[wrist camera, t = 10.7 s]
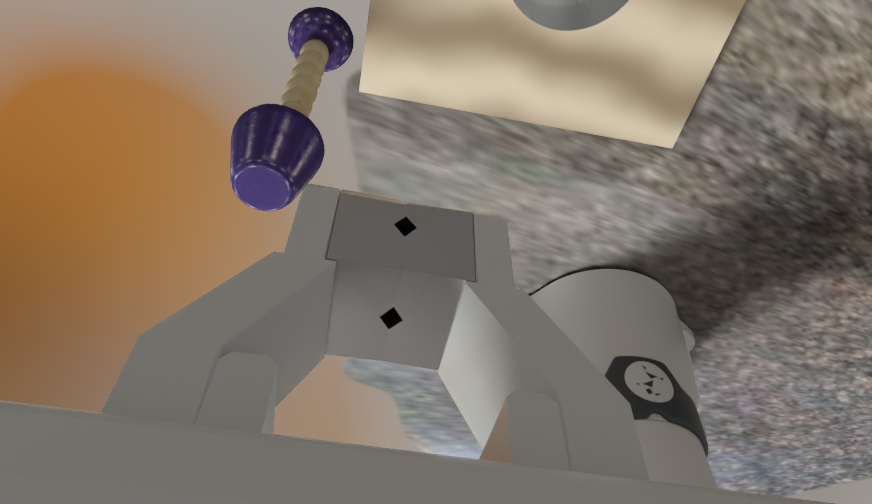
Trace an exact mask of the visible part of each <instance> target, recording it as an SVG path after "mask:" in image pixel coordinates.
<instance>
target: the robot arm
mask: <svg viewBox="0 0 872 504" xmlns="http://www.w3.org/2000/svg"><path fill="white" fill-rule="evenodd" d="M694 346H695V339H694V335H693V332H692V331H691V329H690V328H689V327H688V326H687V325H685V324H684V323H683V322H682V321H681V320H680V319H679V317H678V314H677V310H676V306H675V303H674V300H673V298H672V297H671V295H670V294H669V292H668V291H667V290H666V289H665V288H664V287H663V286H662V285H661V284H659V283H658V282H657V281H655V280H653V279H651V278H649V277H647V276H645V275H642V274H639V273H636V272H632V271H627V270H620V269H596V270H588V271H583V272H579V273H575V274H572V275H569V276H566V277H563V278H561V279H559V280H556V281H554V282H552V283H551V284H549V285H547V286H546V287H544V288H542V289H541V290H539V291H538V292H536V293H535V294H533V295H531V296H529V295H528V294H527V293H526V292H525V291H524V290H520V289H515V287H514V279H513V270H512V262H511V254H510V245H509V237H508V228H507V220H506V219H505V217H504V216H501V215H493V214H486V213H479V212H465V211H459V210H453V209H446V208H440V207H434V206H427V205H421V204H415V203H408V202H406V201H401V200H396V199H391V198H385V197H380V196H375V195H369V194H364V193H359V192H354V191H348V190H343V189H342V191H340V190H339V189H337V188H331V187H325V186H320V185H314V184H308V183H307V184H306V186H305V187H304V188H303V192H302V194H301V198H300V201H299V204H298V208H297V211H296V214H295V218H294V221H293V224H292V228H291V231H290V235H289V238H288V241H287V245H286V248H285V251H284V253H281V252H272V253H270V254H269V255H268V256H266V257H264V258H262V259H261V260H259V261H258V262H256V263H255V264H253V265H251V266H250V267H248V268H247V269H245V270H243V271H242V272H240V273H238V274H237V275H236V276H234V277H232V278H230V279H229V280H227V281H226V282H224V283H222V284H221V285H220V286H218V287H216V288H214V289H213V290H211V291H210V292H208V293H206V294H205V295H203V296H202V297H200V298H199V299H197V300H195V301H194V302H192V303H190V304H189V305H187V306H186V307H184V308H182V309H181V310H179V311H178V312H176V313H174V314H173V315H171V316H169V317H168V318H166V319H165V320H163V321H162V322H160V323H158V324H157V325H155V326H153V327H152V328H150V329H149V330H147V331H146V332H144V333H142V334H141V335H139V337H138V339H137V341H136V343H135V345H134V347H133V349H132V351H131V353H130V355H129V357H128V359H127V361H126V363H125V365H124V368H123V369H122V372H121V374H120V376H119V378H118V380H117V382H116V384H115V386H114V388H113V390H112V392H111V394H110V396H109V398H108V400H107V402H106V404H105V406H104V408H103V410H102V412H101V413H97V412H89V411H81V410H72V409H65V408H56V407H48V406H40V405H33V404H25V403H17V402H8V401H0V504H834V503H826V502H818V501H809V500H802V499H793V498H786V497H777V496H769V495H761V494H753V493H745V492H737V491H729V490H721V489H718V488H717V485H716V482H715V480H714V477H713V475H712V472H711V469H710V466H709V464H708V461H707V455H708V443H707V440H706V437H705V436H706V434H705V433H706V432H705V430H704V429H705V428H704V425H703V422H702V419H701V418H700V417H699V414H698V412H697V408H698V407H699V406H700V395H699V390H698V386H697V382H696V378H695V374H694V369H693V365H692V362H691V358H690V354H689V352H690V351H691V350H692V349H693V347H694ZM324 354H327V355H336V356H345V357H354V358H363V359H372V360H380V361H387V362H393V363H399V364H405V365H411V366H417V367H423V368H429V369H435V370H438V374H439V376H440V377H441V379H442V381H443V383H444V384H445V386H446V388H447V389H448V391H449V393H450V395H451V396H452V398H453V400H454V402H455V403H456V405H457V407H458V408H459V410H460V412H461V414H462V415H463V417H464V419H465V420H466V422H467V424H468V426H469V427H470V429H471V431H472V432H473V434H474V436H475V438H476V439H477V441H478V443H479V444H480V446H481V448H482V450H483V452H482V454H481V456H480V458H479V459H470V458H462V457H454V456H446V455H438V454H430V453H422V452H413V451H405V450H397V449H389V448H381V447H373V446H364V445H356V444H349V443H340V442H332V441H324V440H316V439H308V438H300V437H292V436H284V435H276V434H273V433H274V417H275V407H276V406H277V405H278V404H279V403H280V402H281V401H282V400H283V399H284V398H285V397H286V396H287V395H288V394H289V393H290V392H291V391H292V390H293V388H294V387H296V386H297V385H298V383H300V381H301V380H302V379H303V378H304V377H305V376H306V375H307V374H308V373H309V372H310V371H311V370H312V369H313V368H314V367H315V366H316V365H317V364H318V363H319V362H320V361H321V360H322V359H323V358H324Z"/></svg>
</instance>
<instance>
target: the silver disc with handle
mask: <svg viewBox="0 0 872 504" xmlns="http://www.w3.org/2000/svg"><path fill="white" fill-rule="evenodd" d="M513 1H514V3H515V4H516V6H517V7H518V8H519V9H520V10H521V12H522V13H523V14H524V15H526V16H527V17H528V18H529V19H530V20H532V21H534V22H535V23H537V24H539V25H541V26H544V27H546V28H550V29H554V30H561V31H573V30H581V29H585V28H589V27H591V26H594V25H597V24H599V23H601V22H603V21H605V20H606V19H608V18H609V17H611V16H612V15H614V14H615V13H616V12H618V11H619V10H620V9H621V8H622V7H623V6H624V5H625V4H626V3H627V2H628V1H629V0H513Z"/></svg>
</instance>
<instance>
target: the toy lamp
mask: <svg viewBox="0 0 872 504" xmlns="http://www.w3.org/2000/svg"><path fill="white" fill-rule="evenodd" d="M288 40H289V46H290V49H291V51H292V53H293V55H294V57H295V58H296V59H297V60H296V63H295V67H294V68H293V70H292V72H291V74H290V80H289V81H288V83H287V85H286V88H285V93H284V94H283V96H282V97H281V100H280V104H279V105H278V104H263V105H259V106H256V107H253V108H251V109H249V110H248V111H246V112H245V113H244V114H242V116H240V117H239V119H238V120H237V122H236V124H235V126H234V128H233V132H232V136H231V162H230V164H231V165H230V166H231V167H230V174H231V184H232V188H233V190H234V192H235V194H236V195H237V196H238V198H239V199H240V200H241V201H242V202H243V203H245V204H246V205H248V206H250V207H252V208H254V209H257V210H262V211H274V210H279V209H281V208H283V207H285V206H287V205H288V204H289V203H291V202H292V200H293V199H295V197H296V196H297V195H298V194H299V193H300V191H301V190H302V189H303V188H304V187H305V186H306V184H307V183H308V182H309V181H310V180H311V179H312V178H313V176H314V175H315V174H316V173H317V171H318V170H319V168H320V166H321V164H322V161H323V157H324V143H323V140H322V137H321V135H320V132H319V130H318V129H317V128H316V126H315V125H314V124H313V122H312V121H311V120H310V119H309V118H308V116H309V114H310V112H311V110H312V103H313V102H314V101H315V98H316V95H317V89H318V88H319V86H320V83H321V77H322V75H323V73H324V72H328V71H332V70H335V69H337V68H338V67H340V66H341V65H343V64H344V63H345V62H346V60H347V59H348V58H349V56H350V54H351V52H352V49H353V35H352V31H351V29H350V27H349V25H348V24H347V22H346V21H345V20H344V19H343V18H342V17H341V16H340V15H339V14H337V13H336V12H334V11H332V10H330V9H327V8H322V7H314V8H308V9H305V10H303V11H301V12H299V13H298V14H297V15H296V16H295V17H294V18H293V20H292V22H291V23H290V27H289V32H288Z"/></svg>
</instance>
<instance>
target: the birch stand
mask: <svg viewBox="0 0 872 504" xmlns="http://www.w3.org/2000/svg"><path fill="white" fill-rule="evenodd" d="M745 1H746V0H629V1H628V2H627V3H626V4H625V5H624V6H623V7H622V8H621V9H620V10H619V11H618V12H616V13H615V14H614V15H612V16H611V17H609V18H608V19H606V20H605V21H603V22H601V23H599V24H597V25H594V26H591V27H589V28H585V29H581V30H573V31H561V30H554V29H550V28H546V27H544V26H541V25H539V24H537V23H535V22H534V21H532V20H530V19H529V18H528V17H527V16H526V15H524V14H523V13H522V12H521V10H520V9H519V8H518V7H517V6H516V4H515V3H514V1H513V0H370V8H369V16H368V24H367V32H366V40H365V48H364V56H363V64H362V72H361V80H360V88H359V92H364V93H369V94H375V95H380V96H386V97H391V98H397V99H402V100H408V101H413V102H419V103H424V104H430V105H435V106H441V107H446V108H452V109H458V110H463V111H469V112H474V113H480V114H485V115H491V116H496V117H502V118H507V119H513V120H518V121H524V122H529V123H535V124H540V125H546V126H551V127H557V128H562V129H568V130H573V131H579V132H584V133H590V134H595V135H601V136H606V137H612V138H618V139H623V140H629V141H634V142H640V143H645V144H651V145H656V146H662V147H667V148H673V146H674V144H675V142H676V140H677V138H678V136H679V134H680V132H681V130H682V128H683V126H684V124H685V122H686V120H687V118H688V116H689V114H690V112H691V110H692V108H693V106H694V104H695V102H696V100H697V98H698V96H699V94H700V92H701V90H702V88H703V86H704V84H705V82H706V80H707V78H708V76H709V74H710V72H711V70H712V68H713V65H714V63H715V61H716V59H717V57H718V55H719V53H720V51H721V49H722V47H723V45H724V43H725V41H726V39H727V37H728V35H729V33H730V31H731V29H732V27H733V25H734V23H735V21H736V19H737V17H738V15H739V13H740V11H741V9H742V7H743V5H744V3H745Z"/></svg>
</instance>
